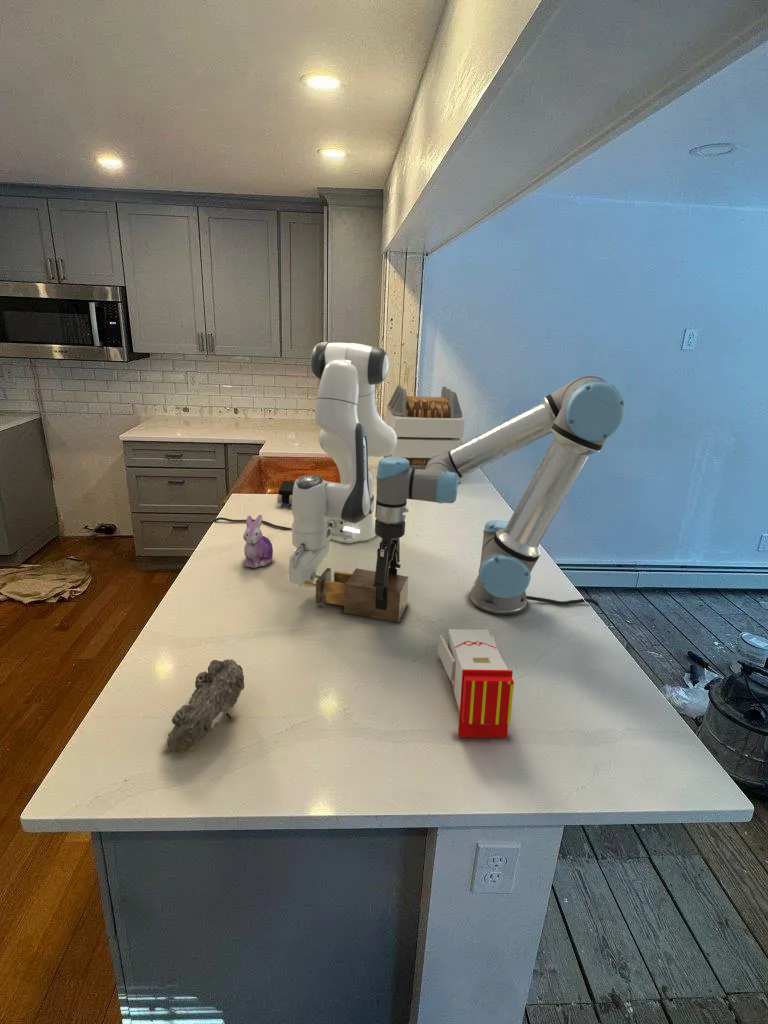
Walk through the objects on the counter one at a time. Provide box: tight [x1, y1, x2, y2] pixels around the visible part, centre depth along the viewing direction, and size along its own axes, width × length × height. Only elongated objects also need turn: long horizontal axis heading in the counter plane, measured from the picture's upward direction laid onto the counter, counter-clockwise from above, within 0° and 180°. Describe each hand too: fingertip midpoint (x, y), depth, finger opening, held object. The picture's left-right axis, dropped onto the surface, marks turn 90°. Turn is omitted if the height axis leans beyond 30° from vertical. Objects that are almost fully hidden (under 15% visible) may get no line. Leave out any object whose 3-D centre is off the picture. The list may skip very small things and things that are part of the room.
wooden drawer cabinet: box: [343, 568, 409, 623], centre depth 148 cm, size 14×10×8 cm, turn 75°
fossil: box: [166, 658, 245, 754], centre depth 106 cm, size 22×10×15 cm
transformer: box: [383, 384, 465, 484], centre depth 268 cm, size 34×33×41 cm
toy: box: [437, 628, 515, 738], centre depth 117 cm, size 12×13×30 cm
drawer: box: [298, 567, 352, 607], centre depth 151 cm, size 19×8×7 cm, turn 75°
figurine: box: [242, 514, 274, 569], centre depth 170 cm, size 9×10×15 cm
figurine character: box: [276, 480, 295, 509], centre depth 224 cm, size 7×8×15 cm
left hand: (309, 585), depth 153 cm, fingers closed, pressing on drawer
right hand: (385, 599), depth 148 cm, fingers closed on wooden drawer cabinet, 10 cm apart
